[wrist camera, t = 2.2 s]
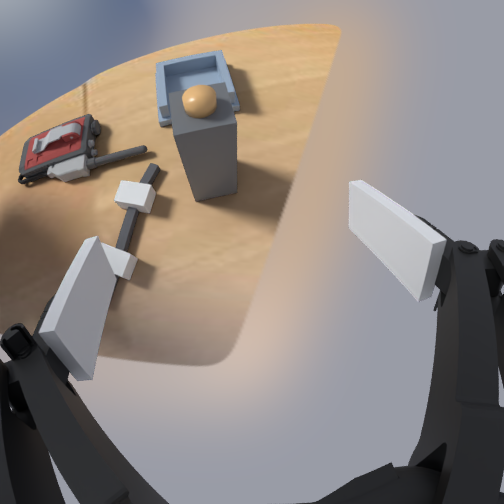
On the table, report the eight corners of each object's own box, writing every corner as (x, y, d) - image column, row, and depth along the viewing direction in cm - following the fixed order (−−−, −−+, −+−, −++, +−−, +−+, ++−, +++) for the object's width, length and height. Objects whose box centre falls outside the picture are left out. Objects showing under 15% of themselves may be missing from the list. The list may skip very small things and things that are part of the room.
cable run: (94, 302, 27) (84, 300, 25) (137, 164, 31) (131, 155, 29) (124, 312, 27) (116, 311, 25) (166, 169, 31) (162, 159, 29)
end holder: (160, 126, 32) (154, 111, 29) (156, 77, 34) (152, 62, 31) (239, 110, 33) (239, 93, 30) (225, 63, 35) (224, 47, 32)
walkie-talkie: (22, 200, 30) (150, 162, 32) (3, 188, 26) (139, 141, 27) (30, 149, 32) (149, 109, 34) (16, 134, 28) (141, 87, 29)
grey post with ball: (195, 201, 30) (170, 125, 17) (189, 166, 31) (165, 83, 18) (237, 192, 31) (236, 112, 18) (228, 157, 32) (224, 71, 19)
